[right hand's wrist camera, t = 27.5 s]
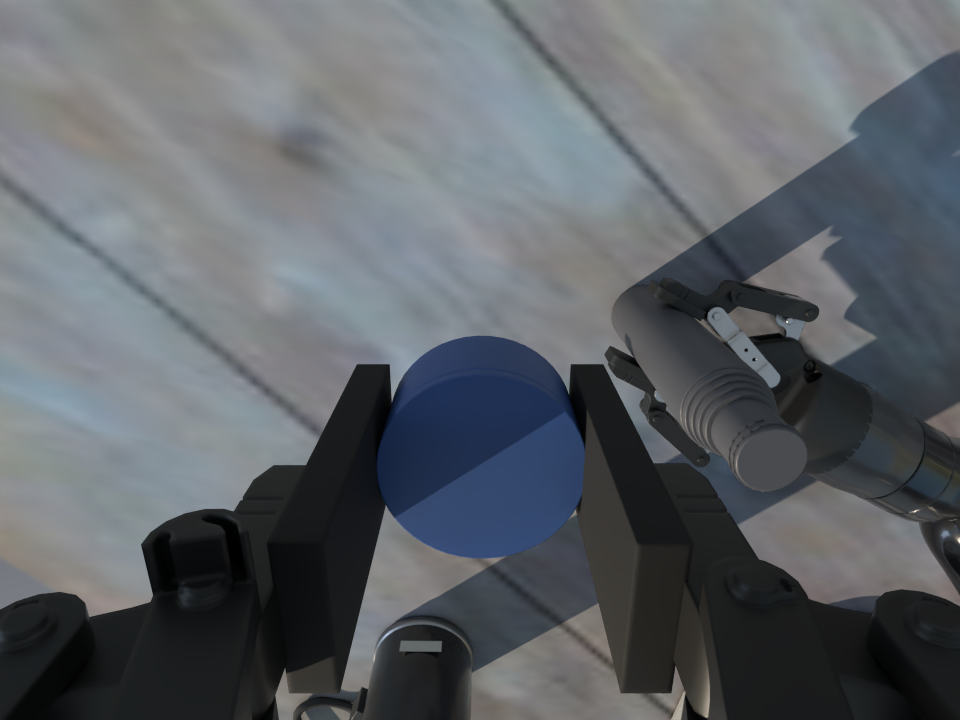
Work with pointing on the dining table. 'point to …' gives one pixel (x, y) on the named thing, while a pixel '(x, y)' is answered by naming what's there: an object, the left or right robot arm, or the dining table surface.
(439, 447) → the cap
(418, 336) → the dining table surface
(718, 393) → the bottle
